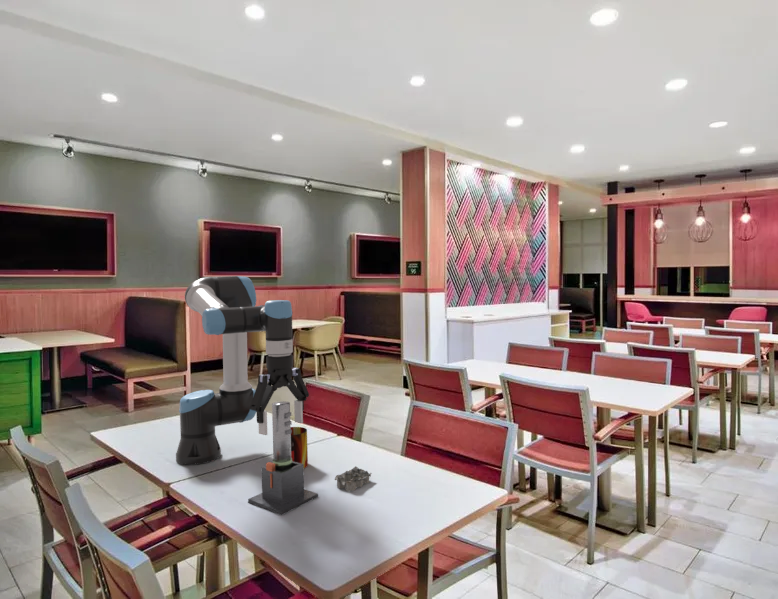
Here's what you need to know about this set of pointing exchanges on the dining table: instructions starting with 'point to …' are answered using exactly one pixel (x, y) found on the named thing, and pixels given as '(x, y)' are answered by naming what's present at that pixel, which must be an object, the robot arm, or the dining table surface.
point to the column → (281, 435)
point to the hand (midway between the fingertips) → (281, 428)
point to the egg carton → (348, 482)
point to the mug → (299, 445)
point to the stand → (282, 489)
